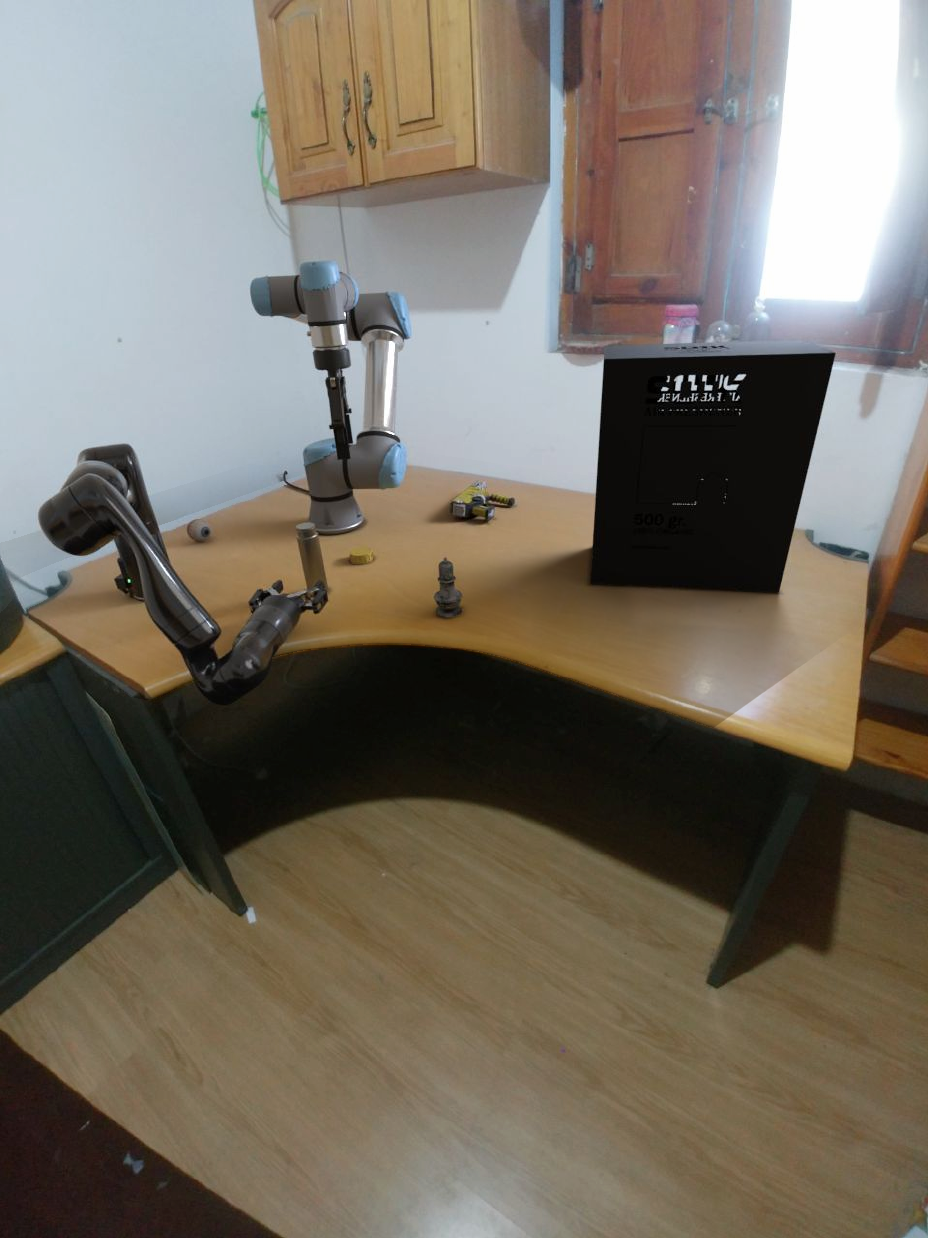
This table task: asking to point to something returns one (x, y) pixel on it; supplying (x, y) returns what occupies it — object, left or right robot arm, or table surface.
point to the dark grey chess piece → (447, 591)
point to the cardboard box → (704, 462)
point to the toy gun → (477, 502)
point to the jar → (311, 555)
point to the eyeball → (199, 530)
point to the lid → (361, 555)
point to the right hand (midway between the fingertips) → (345, 451)
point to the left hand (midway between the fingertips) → (301, 584)
